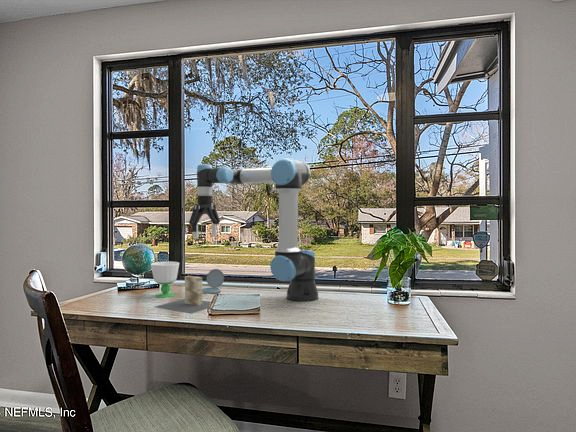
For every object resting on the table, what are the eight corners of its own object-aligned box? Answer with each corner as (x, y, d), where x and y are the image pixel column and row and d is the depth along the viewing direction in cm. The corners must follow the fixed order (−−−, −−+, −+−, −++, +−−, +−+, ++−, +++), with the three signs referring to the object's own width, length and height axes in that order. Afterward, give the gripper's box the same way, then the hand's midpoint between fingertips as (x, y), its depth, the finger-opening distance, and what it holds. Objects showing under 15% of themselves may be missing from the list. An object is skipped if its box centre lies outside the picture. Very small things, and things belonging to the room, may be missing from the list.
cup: (152, 299, 204) (151, 266, 203) (149, 293, 216) (149, 262, 216) (181, 297, 209) (181, 264, 208) (177, 291, 221) (177, 260, 221)
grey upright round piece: (225, 269, 226) (214, 273, 211) (225, 290, 226) (214, 296, 212) (207, 268, 228) (195, 273, 214) (207, 289, 228) (195, 295, 214)
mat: (223, 305, 193) (223, 303, 193) (191, 315, 175) (191, 313, 175) (186, 299, 204) (186, 298, 204) (153, 308, 187) (153, 306, 187)
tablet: (202, 304, 191) (202, 277, 191) (198, 305, 189) (198, 278, 189) (189, 302, 196) (189, 275, 195) (184, 303, 193) (184, 276, 193)
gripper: (215, 195, 232) (215, 235, 232) (181, 195, 210) (181, 238, 211) (226, 195, 228) (226, 236, 228) (192, 194, 206) (193, 239, 207)
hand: (205, 237), depth 220 cm, fingers open, 13 cm apart
